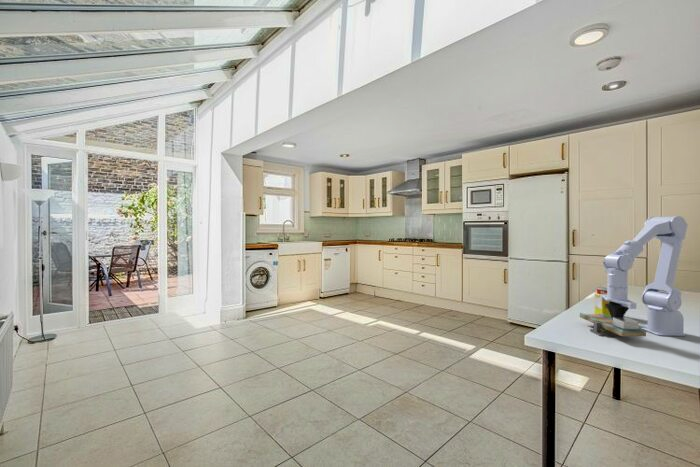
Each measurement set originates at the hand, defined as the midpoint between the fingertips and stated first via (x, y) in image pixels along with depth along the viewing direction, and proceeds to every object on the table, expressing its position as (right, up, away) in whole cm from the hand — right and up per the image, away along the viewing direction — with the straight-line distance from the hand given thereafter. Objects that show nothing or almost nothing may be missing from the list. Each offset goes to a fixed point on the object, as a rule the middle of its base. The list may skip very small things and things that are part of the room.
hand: (617, 323), depth 117 cm
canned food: (+19, -4, +27) cm, 34 cm away
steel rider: (0, -1, -4) cm, 4 cm away
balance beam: (0, -2, +3) cm, 4 cm away
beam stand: (0, -5, +3) cm, 5 cm away
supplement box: (+11, -4, +19) cm, 22 cm away
